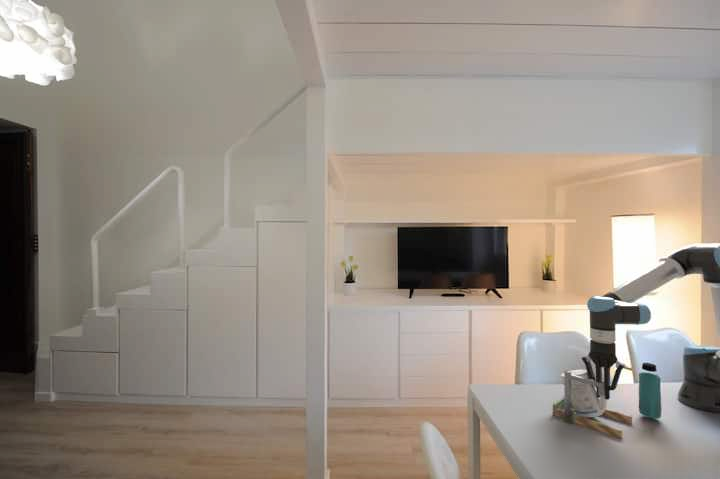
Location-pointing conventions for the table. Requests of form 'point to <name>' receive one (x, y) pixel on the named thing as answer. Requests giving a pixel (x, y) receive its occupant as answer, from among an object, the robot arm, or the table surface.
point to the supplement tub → (584, 396)
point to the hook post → (567, 391)
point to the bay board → (607, 429)
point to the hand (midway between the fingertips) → (603, 407)
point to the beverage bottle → (649, 392)
